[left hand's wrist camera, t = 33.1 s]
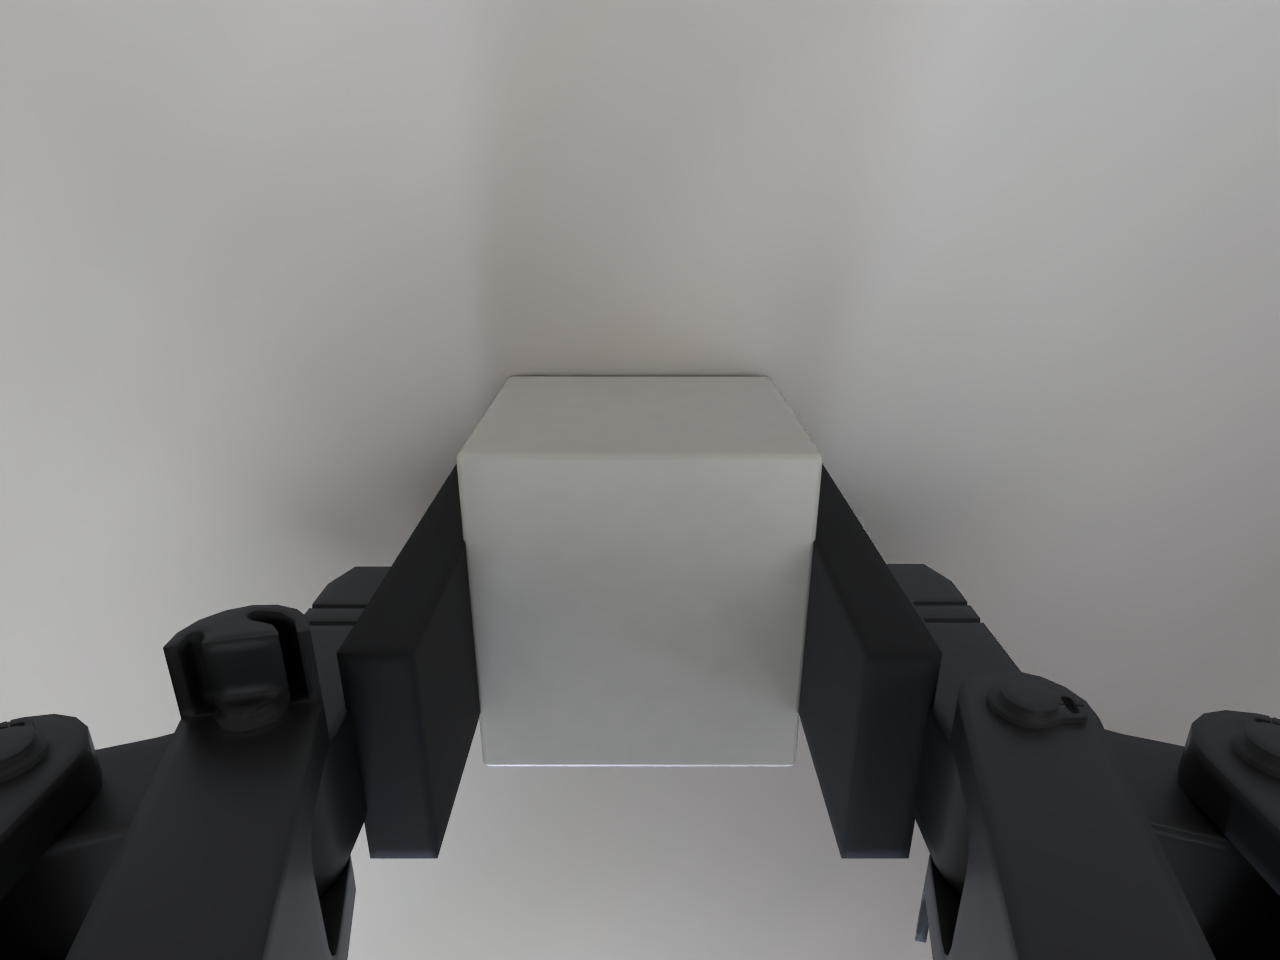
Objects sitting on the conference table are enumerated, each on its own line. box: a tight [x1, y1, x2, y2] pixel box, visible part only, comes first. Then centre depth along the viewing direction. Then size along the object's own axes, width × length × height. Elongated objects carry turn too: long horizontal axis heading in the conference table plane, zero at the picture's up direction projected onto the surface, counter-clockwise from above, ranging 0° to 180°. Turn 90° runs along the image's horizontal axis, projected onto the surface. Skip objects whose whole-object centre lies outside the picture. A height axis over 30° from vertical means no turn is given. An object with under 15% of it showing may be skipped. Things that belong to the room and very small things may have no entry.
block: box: [456, 376, 823, 766], centre depth 13 cm, size 5×5×4 cm
